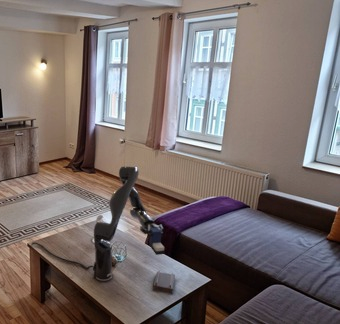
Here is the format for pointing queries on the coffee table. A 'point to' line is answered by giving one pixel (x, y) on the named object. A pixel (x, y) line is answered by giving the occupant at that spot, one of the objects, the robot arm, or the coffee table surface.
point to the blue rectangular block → (156, 241)
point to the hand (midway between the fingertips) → (157, 235)
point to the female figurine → (99, 219)
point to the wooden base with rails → (164, 282)
